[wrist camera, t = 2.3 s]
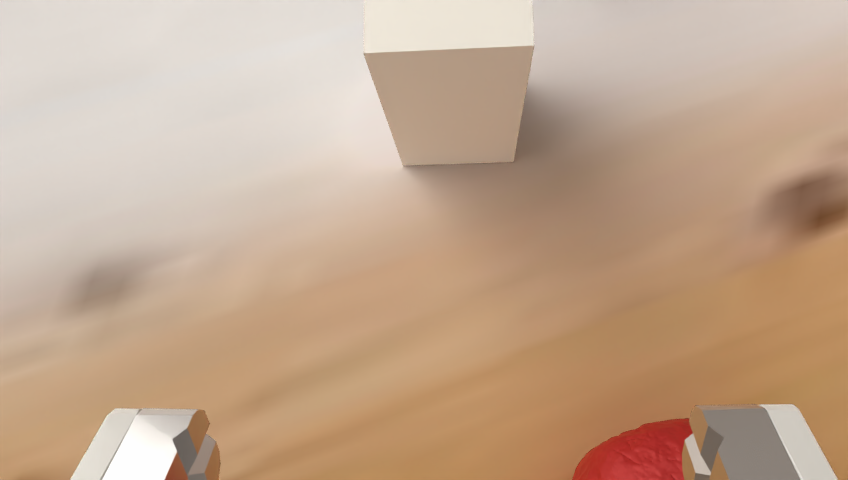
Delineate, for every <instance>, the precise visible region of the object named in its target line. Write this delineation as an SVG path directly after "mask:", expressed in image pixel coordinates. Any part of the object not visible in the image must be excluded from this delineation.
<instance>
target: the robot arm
mask: <svg viewBox="0 0 848 480" xmlns="http://www.w3.org/2000/svg"><path fill="white" fill-rule="evenodd" d="M689 423H690V426H691V429H692V432H693V434H691V435H690V436H689V437H688V438H686V439H685V440H684V446H683V451H682V470H683V476H684V480H838V478H837V477H836V475H835V473H834V471H833V469H832V468H831V466H830V464H829V462H828V460H827V459H826V457H825V455H824V453H823V451H822V450H821V448H820V446H819V444H818V442H817V441H816V439H815V437H814V435H813V433H812V432H811V430H810V428H809V426H808V424H807V423H806V421H805V419H804V417H803V415H802V414H801V412H800V410H799V409H798V408H797V407H796V406H794V405H793V404H766V405H757V404H743V405H695V407H694V408H693V409H692V411H691V415H690V419H689ZM209 425H210V423H209V420H208V418H207V416H206V413H205V411H204V410H199V409H150V408H144V409H128V408H115V409H114V410H113V411H112V412H110V413H109V414H108V415H107V416H106V418H105V420H104V421H103V423H102V425H101V427H100V428H99V430H98V432H97V434H96V435H95V437H94V439H93V441H92V442H91V444H90V446H89V447H88V449H87V451H86V453H85V454H84V456H83V458H82V460H81V461H80V463H79V465H78V467H77V468H76V470H75V472H74V474H73V475H72V477H71V479H70V480H219V472H220V454H219V449H218V446H217V443H216V441H215V440H214V439H212V438H211V437H210V436H208V435H207V434H206V432H207V430H208V427H209Z"/></svg>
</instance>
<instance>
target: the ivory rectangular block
mask: <svg viewBox="0 0 848 480" xmlns="http://www.w3.org/2000/svg"><path fill="white" fill-rule="evenodd" d="M533 50H534V28H533V6H532V0H364V51H363V53H364V56H365V59H366V62H367V65H368V68H369V70H370V73H371V76H372V79H373V82H374V85H375V87H376V90H377V93H378V96H379V99H380V102H381V104H382V107H383V110H384V113H385V116H386V119H387V122H388V124H389V127H390V130H391V133H392V136H393V139H394V141H395V144H396V147H397V150H398V153H399V156H400V158H401V161H402V164H403V166H408V165H439V164H469V163H500V162H514V156H515V151H516V145H517V139H518V134H519V128H520V123H521V117H522V111H523V106H524V100H525V95H526V89H527V84H528V78H529V72H530V67H531V61H532V56H533Z"/></svg>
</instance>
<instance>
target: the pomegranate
mask: <svg viewBox="0 0 848 480" xmlns="http://www.w3.org/2000/svg"><path fill="white" fill-rule="evenodd" d="M689 419H690V418H686V419H673V420H666V421H660V422H653V423H647V424H644V425H642V426H640V427H639V428H637V429H635V430H630V431H626V432H623V433H621V434H620V435H619V436H615V437H612V438H610V439H609V440H607V441H605V442H603V443H601V444H600V445H598V446H597V447H595V448H593V449H592V450H590V451H589V452H588V453H587V454H586V455H585V456H584V458H583V459H582V460H581V461H580V463H579V464H578V466H577V468H576V470H575V473H574V476H573V479H572V480H684V476H683V470H682V451H683V446H684V440H685V439H686V438H688V437H689V436H690V435H691V434H693V432H692V429H691V426H690V423H689Z"/></svg>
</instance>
